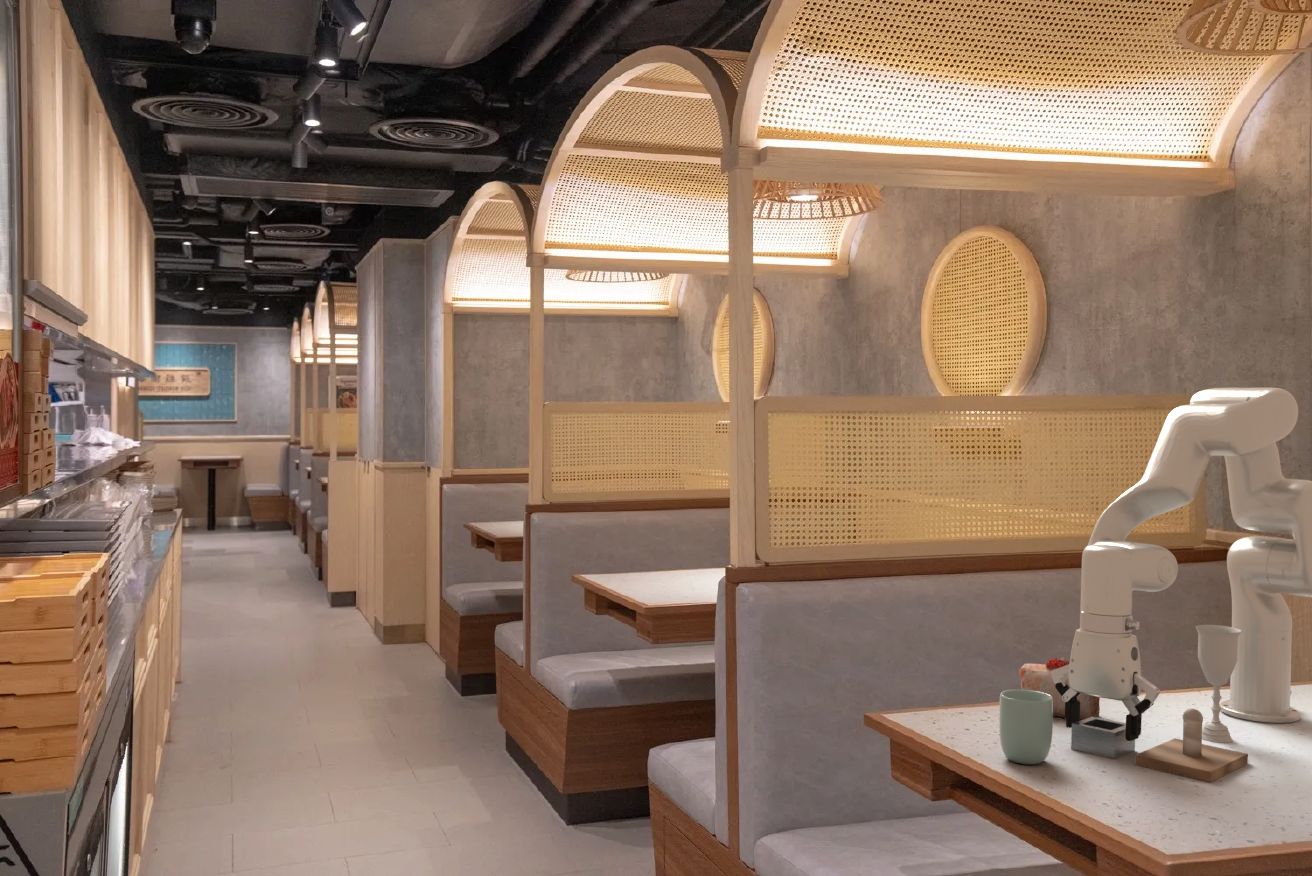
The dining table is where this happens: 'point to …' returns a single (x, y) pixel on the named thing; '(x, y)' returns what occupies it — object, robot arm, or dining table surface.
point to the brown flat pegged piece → (1192, 754)
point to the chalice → (1217, 670)
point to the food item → (1041, 681)
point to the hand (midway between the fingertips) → (1101, 732)
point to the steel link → (1101, 737)
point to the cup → (1026, 725)
